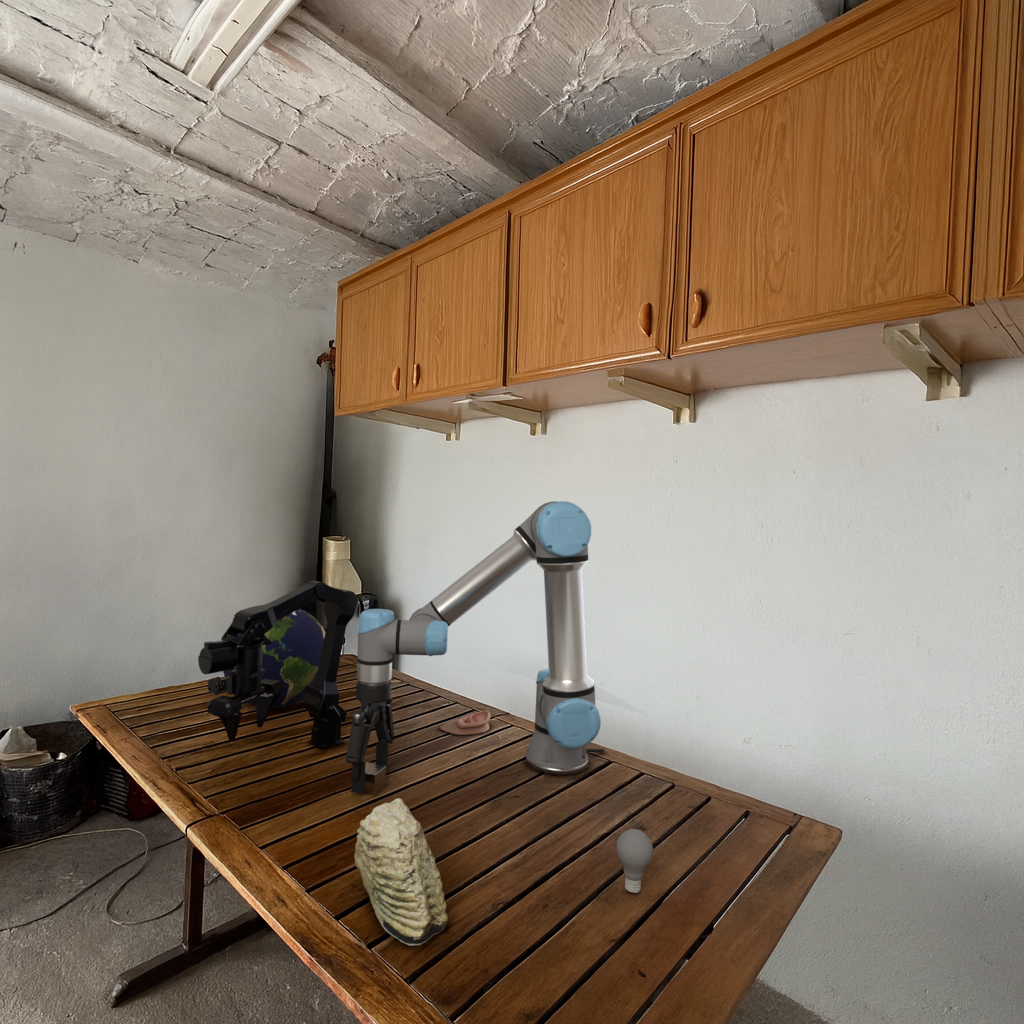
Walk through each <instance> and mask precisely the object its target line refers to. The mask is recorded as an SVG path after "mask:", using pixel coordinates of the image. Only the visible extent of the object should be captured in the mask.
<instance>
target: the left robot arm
mask: <svg viewBox="0 0 1024 1024" xmlns="http://www.w3.org/2000/svg"><path fill="white" fill-rule="evenodd" d="M315 601H319V602H320V603H321V602H322V603H323V613H324V616H325V620H326V627H325V630H324V631H325V637H324V642H323V647H322V652H321V657H320V662H319V667H318V673H317V677H316V680H315V681H314V682H313V684H312V685H311V686H310V685H307V686H306V688H305V696H304V698H303V700H302V702H304V703H303V707H304V709H305V711H307V713H308V715H309V718H311V719H313V721H312V722H313V723H312V727H311V730H310V731H311V732H310V733H311V735H310V739H309V740H308V743H309V744H310V745H313V746H314V747H316V748H318V749H320V750H327V749H329V748H333V747H336V746H340V745H343V744H344V743H345V741H344V740H343V739H341V737H342V735H341V733H342V723H343V722H346V719H347V715H348V712H347V711H346V710H345V709H344V708H343V707H342V706H341V705H340V691H339V688H338V684H337V678H338V672H339V668H340V667H339V666H340V662H341V656H342V651H343V647H344V641H345V636H346V630H347V626H348V624H349V623H350V622H351V620H352V619H353V618H354V616H355V615H356V612H357V608H358V605H359V597H358V596H357V594H356V593H355V592H354V591H352V590H347V589H342V588H337V587H333V586H331V585H328V584H326V583H325V582H323V581H318V580H310V581H308V582H307V583H306V584H304V585H302V586H300V587H298V588H296V589H294V590H292V591H289V592H288V593H286V594H284V595H281V596H280V597H278V598H276V599H274V600H272V601H270V602H268V603H264V604H260V605H254V606H250V607H247V608H244V609H241V610H238V611H237V612H236V613H235V614H234V615H233V618H232V622H231V623H230V625H229V626H228V628H227V629H226V630H225V632H224V633H223V635H222V636H221V638H220V640H216V641H211V640H209V641H204V643H203V647H202V648H201V649H200V652H199V655H198V657H197V662H198V667H199V670H200V672H201V673H202V674H203V675H210V674H216V673H220V672H223V671H226V670H231V669H233V668H234V667H235V670H233V671H231V672H230V674H229V677H226V678H225V677H222V678H221V677H220V676H216V677H212V678H209V679H208V681H207V691H208V693H210V694H213V695H214V696H215V698H212V699H210V700H209V702H208V703H207V714H211V715H213V716H215V717H218V718H219V719H220V720H221V723H222V725H223V727H224V730H225V733H226V735H227V738H228V740H229V741H230V742H234V741H235V740H236V737H237V734H238V731H239V727H240V723H241V720H242V715H243V712H242V711H241V710H242V708H243V703H247V702H246V701H248V700H250V699H254V701H255V702H256V706H255V709H256V710H255V711H256V715H255V716H256V718H255V719H256V727H257V728H262V727H263V726H264V725H265V723H266V720H267V718H268V716H269V714H270V712H271V710H272V707H273V705H274V704H275V702H276V700H277V699H278V698H279V697H280V695H279V694H282V693H283V684H282V683H281V681H277V680H270V679H263V680H261V678H262V675H263V674H266V669H262V650H263V645H268V644H271V643H272V641H271V640H269V639H268V638H267V637H266V636H265V633H267V632H268V631H269V630H270V629H272V628H273V626H274V625H275V624H276V622H277V621H279V620H280V619H281V618H283V617H285V616H287V615H289V614H291V613H293V612H294V611H296V610H298V609H302V608H304V607H306V606H308V605H310V604H312V603H314V602H315ZM237 634H241V635H243V636H242V637H240V636H237ZM223 693H226V694H227V695H220V694H223ZM229 695H230V696H229ZM232 695H234V696H232ZM216 696H217V697H216Z"/></svg>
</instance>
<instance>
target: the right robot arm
mask: <svg viewBox="0 0 1024 1024" xmlns="http://www.w3.org/2000/svg"><path fill="white" fill-rule="evenodd" d="M591 537H592V523H591V520H590V518H589V516H588V514H587V513H586V511H584V509H582V508H581V507H580V506H579V505H577V504H575V503H573V502H570V501H566V500H565V501H563V500H559V501H557V500H555V501H554V500H553V501H548V502H545V503H543V504H541V505H539V507H537V508H536V509H535V510H534V511H533V512H532V513H531V514H530V515H529V516H528V517H527V518H526V519H525V520H524V521H523V522H522V523H521V524H519V525H518V526H517V527H515V528H514V529H513V535H512V536H511V537H510V538H509V539H507V540H506V541H504V542H503V543H502V544H501V545H500V546H498V547H497V548H496V549H495V550H493V551H492V552H491V553H489V554H488V555H487V556H486V557H484V558H483V559H482V560H481V561H480V562H478V563H477V564H475V565H474V566H473V567H471V569H469V570H468V571H466V573H464V574H463V575H462V576H460V577H459V578H458V579H456V580H454V582H453V583H451V584H450V585H449V586H448V587H446V588H445V589H444V590H443V591H442V592H440V593H439V594H438V595H436V596H435V597H434V598H432V599H431V600H430V601H429V602H428V603H426V604H425V605H424V606H422V607H420V608H418V609H417V610H415V611H413V613H412V614H411V615H410V617H409V619H396V617H395V613H394V611H392V610H390V609H384V608H369V609H365V610H363V611H362V612H361V613H359V621H358V629H357V630H358V631H357V657H356V658H357V659H356V660H357V663H356V668H357V669H356V680H357V682H356V684H355V685H356V686H355V699H356V700H357V701H358V702H360V708H359V711H358V713H352V715H351V727H350V733H349V739H348V745H347V751H346V757H345V762H346V763H348V764H351V765H352V766H351V788H350V791H351V792H352V793H357V794H361V795H363V794H364V793H365V792H364V790H365V765H366V762H367V761H364V760H365V757H366V752H367V749H368V744H369V741H370V737H371V733H372V732H373V731H374V730H375V734H376V737H377V740H378V742H377V743H376V744H375V764H380V765H385V766H386V775H387V774H388V769H389V768H388V767H389V745H392V744H394V739H393V738H394V737H395V729H394V726H395V725H394V720H393V719H394V717H393V697H391V696H392V682H391V680H392V678H393V655H397V656H398V655H399V656H400V655H401V656H402V655H403V656H429V657H433V656H443V655H445V654H447V652H448V636H449V635H448V632H449V627H450V626H451V625H452V624H454V623H455V622H456V621H457V620H458V619H460V618H461V617H463V616H464V615H465V614H466V613H468V612H469V611H470V610H472V609H473V608H474V607H475V606H476V605H478V604H479V603H481V601H483V600H484V599H485V598H487V597H488V596H489V595H490V594H491V593H493V592H494V591H496V590H497V589H498V588H500V586H502V585H503V584H504V583H506V582H507V581H508V580H509V579H511V578H512V577H513V576H514V575H516V574H517V573H518V572H519V571H521V570H522V569H524V568H525V567H526V566H527V565H528V564H530V563H531V562H533V561H536V565H538V566H539V567H540V568H541V569H542V570H543V582H544V583H543V584H544V601H545V602H544V603H545V604H544V605H545V620H546V621H545V622H546V623H545V624H546V640H547V641H546V642H547V643H546V645H547V661H548V662H547V663H548V668H542V669H541V670H539V671H538V672H537V676H536V681H535V684H536V692H535V693H536V694H535V715H534V731H533V734H532V736H531V739H530V741H529V744H528V746H527V745H526V753H525V763H526V764H527V766H528V767H529V768H530V769H533V770H534V771H537V772H539V773H543V774H546V775H551V776H573V775H577V774H580V773H582V772H584V771H585V770H586V769H587V768H588V765H589V756H588V753H599V754H600V753H605V749H604V748H587V746H589V745H590V743H592V742H593V741H594V740H595V739H596V738H597V736H598V734H599V732H600V729H601V724H602V723H601V721H602V720H601V715H600V711H599V709H598V708H597V706H596V689H595V680H594V679H593V678H591V677H590V676H589V675H588V665H587V645H586V644H587V643H586V623H585V601H584V579H583V568H584V567H585V566H586V565H587V564H588V563H589V543H590V540H591Z"/></svg>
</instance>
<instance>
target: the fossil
mask: <svg viewBox="0 0 1024 1024" xmlns="http://www.w3.org/2000/svg"><path fill="white" fill-rule="evenodd" d="M356 831H357V832H356V833H357V835H356V840H357V841H356V843H355V846H354V847H355V848H354V850H355V851H354V864H355V867H356V868H357V870H358V871H359V874H360V877H361V880H362V884H363V888H364V890H365V892H366V893H367V895H368V897H369V901H370V903H371V905H372V908H373V910H374V913H375V916H376V918H377V920H378V922H379V923H380V925H381V926H382V928H383V929H384V931H385V932H387V933H388V934H389V935H390V936H392V937H393V938H395V939H397V940H398V941H399V942H400V943H403V944H405V945H407V946H409V947H410V946H421V945H423V944H425V943H427V942H428V940H430V939H431V938H432V937H433V936H435V935H438V934H439V933H441V932H443V931H444V929H445V928H446V926H447V925H448V924H449V917H448V914H447V903H446V901H445V892H444V890H443V887H444V886H443V881H442V880H441V879H442V878H441V876H442V875H441V873H440V870H439V869H438V867H437V863H436V858H435V857H434V854H433V851H432V849H431V848H430V845H429V843H428V841H427V838H426V836H425V835H426V834H425V832H424V828H423V827H422V825H421V822H420V821H418V820H417V819H416V818H415V816H413V814H412V812H411V810H410V809H409V807H408V806H407V805H406V804H405V802H404V800H403V799H402V798H401V797H397V798H395V799H393V800H392V801H390V802H384V803H383V804H380V805H377V806H376V807H374V808H372V811H371V813H369V814H368V815H367V816H365V818H364V819H363V820H360V822H359V828H357V830H356Z"/></svg>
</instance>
